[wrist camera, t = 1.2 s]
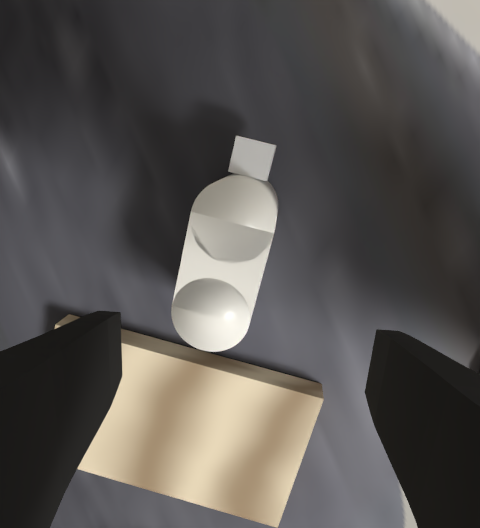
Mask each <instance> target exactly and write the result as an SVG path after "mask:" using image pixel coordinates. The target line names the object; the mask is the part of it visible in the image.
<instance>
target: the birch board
mask: <svg viewBox="0 0 480 528" xmlns="http://www.w3.org/2000/svg"><path fill="white" fill-rule="evenodd" d="M78 318H80V317H77V316H74V315H70V314H69V315H67V316H66V317H65V318H63V319H62V320H61V321H59V322H58V323H57V324H55V329H56V328H58V327H60V326H63V325H65V324H67V323H69V322H71V321H74V320H76V319H78ZM121 345H122V378H121V381H120V384H119V387H118V390H117V392H116V395H115V398H114V400H113V403H112V405H111V407H110V409H109V411H108V413H107V415H106V417H105V419H104V421H103V422H102V424H101V426H100V428H99V430H98V432H97V433H96V435H95V437H94V439H93V441H92V443H91V444H90V446H89V448H88V450H87V452H86V453H85V455H84V457H83V459H82V461H81V463H80V464H79V466H78V468H77V469H79V470H83V471H86V472H89V473H93V474H96V475H100V476H103V477H106V478H110V479H113V480H117V481H120V482H123V483H127V484H130V485H134V486H137V487H140V488H144V489H147V490H151V491H154V492H157V493H161V494H164V495H168V496H171V497H174V498H178V499H181V500H185V501H188V502H191V503H195V504H198V505H202V506H205V507H208V508H212V509H215V510H219V511H222V512H225V513H229V514H232V515H236V516H239V517H242V518H246V519H249V520H253V521H256V522H260V523H263V524H266V525H270V526H273V527H277V528H278V525H279V522H280V520H281V517H282V514H283V511H284V508H285V506H286V503H287V500H288V497H289V494H290V492H291V489H292V486H293V483H294V480H295V478H296V475H297V472H298V469H299V467H300V464H301V461H302V458H303V455H304V453H305V450H306V447H307V444H308V441H309V439H310V436H311V433H312V430H313V427H314V425H315V422H316V419H317V416H318V414H319V411H320V408H321V405H322V402H323V400H324V398H323V391H322V384H320V383H316V382H313V381H309V380H306V379H302V378H298V377H295V376H291V375H287V374H284V373H280V372H277V371H273V370H269V369H266V368H262V367H258V366H255V365H251V364H248V363H244V362H240V361H237V360H233V359H229V358H226V357H222V356H219V355H215V354H211V353H208V352H204V351H200V350H197V349H193V348H190V347H186V346H182V345H179V344H175V343H172V342H168V341H164V340H161V339H157V338H153V337H150V336H146V335H143V334H139V333H135V332H132V331H128V330H124V329H121Z"/></svg>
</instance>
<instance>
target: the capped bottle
mask: <svg viewBox="0 0 480 528" xmlns="http://www.w3.org/2000/svg"><path fill="white" fill-rule="evenodd" d="M275 149H276V145H272V144H268V143H264V142H260V141H256V140H252V139H248V138H244V137H240V136H236V138H235V143H234V147H233V152H232V156H231V161H230V165H229V170H228V172H232V173H234V174H232V175H229V176H227V177H225V178H223V179H220V180H218V181H216V182H214V183H212V184H210V185H208V186H207V187H206V188H204V189H203V190H202V191H201V192H200V194H199V195H198V196H197V198H196V199H195V201H194V204H193V206H192V209H191V214H190V219H189V223H188V228H187V233H186V238H185V243H184V248H183V253H182V258H181V263H180V268H179V273H178V278H177V283H176V288H175V293H174V298H173V303H172V309H171V315H172V321H173V324H174V327H175V329H176V331H177V332H178V334H179V335H180V336H181V338H182V339H183V340H184V341H186V342H187V343H188V344H190V345H191V346H193V347H195V348H197V349H200V350H203V351H209V352H218V351H224V350H227V349H229V348H232V347H233V346H235V345H236V344H238V343H239V342H240V341H241V340H242V339H243V337H244V336H245V334H246V332H247V330H248V327H249V324H250V320H251V317H252V313H253V309H254V306H255V302H256V298H257V295H258V291H259V287H260V283H261V280H262V276H263V272H264V269H265V265H266V261H267V258H268V254H269V250H270V247H271V243H272V239H273V236H274V231H275V226H276V220H277V214H278V198H277V194H276V192H275V190H274V188H273V186H272V185H271V184H270V183H269V182H268V181H267V180H268V177H269V173H270V169H271V165H272V161H273V157H274V153H275Z"/></svg>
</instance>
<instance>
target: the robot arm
mask: <svg viewBox="0 0 480 528" xmlns="http://www.w3.org/2000/svg"><path fill="white" fill-rule="evenodd" d="M121 378H122V345H121V314H120V312H109V311H97V312H93V313H90V314H88V315H85V316H83V317H80V318H78V319H76V320H74V321H71V322H69V323H67V324H65V325H63V326H60V327H58V328H56V329H54V330H51V331H49V332H47V333H45V334H42V335H40V336H38V337H35V338H33V339H30V340H28V341H25V342H23V343H20V344H18V345H16V346H13V347H11V348H8V349H6V350H3V351H0V528H50V526H51V523H52V521H53V519H54V516H55V514H56V512H57V509H58V507H59V505H60V502H61V500H62V498H63V495H64V493H65V491H66V489H67V487H68V485H69V483H70V481H71V479H72V477H73V475H74V473H75V472H76V470H77V468H78V466H79V464H80V463H81V461H82V459H83V457H84V455H85V453H86V452H87V450H88V448H89V446H90V444H91V443H92V441H93V439H94V437H95V435H96V433H97V432H98V430H99V428H100V426H101V424H102V422H103V421H104V419H105V417H106V415H107V413H108V411H109V409H110V407H111V405H112V403H113V400H114V398H115V395H116V392H117V390H118V387H119V384H120V381H121ZM365 394H366V398H367V402H368V406H369V410H370V413H371V416H372V420H373V423H374V426H375V428H376V430H377V433H378V435H379V437H380V440H381V442H382V444H383V446H384V449H385V451H386V453H387V455H388V458H389V460H390V462H391V464H392V467H393V469H394V471H395V473H396V475H397V478H398V480H399V482H400V484H401V487H402V489H403V491H404V493H405V496H406V498H407V500H408V502H409V505H410V508H411V510H412V513H413V515H414V518H415V520H416V523H417V526H418V528H480V374H478V373H476V372H474V371H472V370H470V369H469V368H467V367H465V366H463V365H461V364H459V363H458V362H456V361H454V360H452V359H451V358H449V357H447V356H445V355H443V354H442V353H440V352H438V351H436V350H435V349H433V348H431V347H429V346H428V345H426V344H424V343H422V342H421V341H419V340H417V339H415V338H413V337H411V336H409V335H407V334H405V333H402V332H400V331H391V330H376V335H375V341H374V346H373V351H372V357H371V362H370V367H369V373H368V378H367V384H366V389H365Z"/></svg>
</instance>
